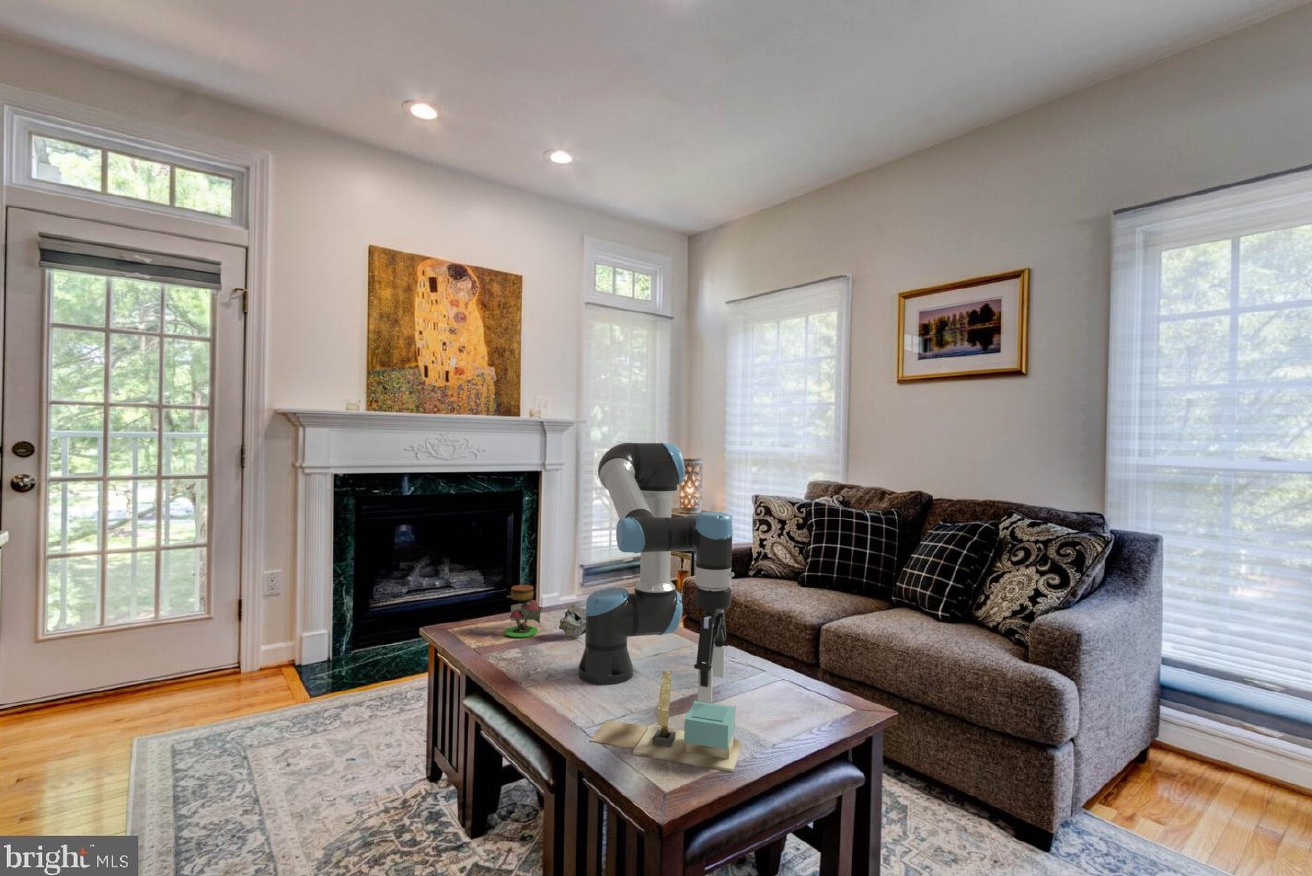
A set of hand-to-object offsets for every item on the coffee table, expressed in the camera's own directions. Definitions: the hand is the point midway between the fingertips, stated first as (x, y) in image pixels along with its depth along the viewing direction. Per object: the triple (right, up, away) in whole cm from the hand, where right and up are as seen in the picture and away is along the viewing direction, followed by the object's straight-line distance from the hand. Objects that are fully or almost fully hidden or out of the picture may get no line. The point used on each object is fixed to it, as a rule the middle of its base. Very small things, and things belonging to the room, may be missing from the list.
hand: (711, 688), depth 127 cm
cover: (0, -10, 0) cm, 10 cm away
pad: (-20, -13, +7) cm, 25 cm away
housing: (-5, -14, +2) cm, 14 cm away
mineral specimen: (-38, -13, +70) cm, 81 cm away
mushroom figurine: (-56, -12, +75) cm, 94 cm away
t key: (-10, -13, +3) cm, 17 cm away
